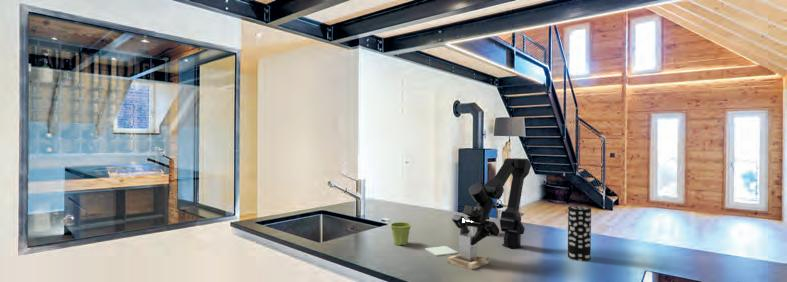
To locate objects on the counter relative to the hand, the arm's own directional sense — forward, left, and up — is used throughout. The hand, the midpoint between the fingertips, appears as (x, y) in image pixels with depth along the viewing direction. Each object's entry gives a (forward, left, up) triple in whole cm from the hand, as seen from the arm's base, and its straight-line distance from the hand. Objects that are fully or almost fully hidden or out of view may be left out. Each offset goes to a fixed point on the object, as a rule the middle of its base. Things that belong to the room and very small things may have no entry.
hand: (465, 243), depth 151 cm
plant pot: (+12, -35, -8) cm, 37 cm away
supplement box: (-32, -38, -8) cm, 50 cm away
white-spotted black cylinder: (-46, +10, -8) cm, 48 cm away
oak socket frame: (-1, -1, -8) cm, 8 cm away
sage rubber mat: (+1, -18, -8) cm, 19 cm away
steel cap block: (-1, -1, -7) cm, 7 cm away
